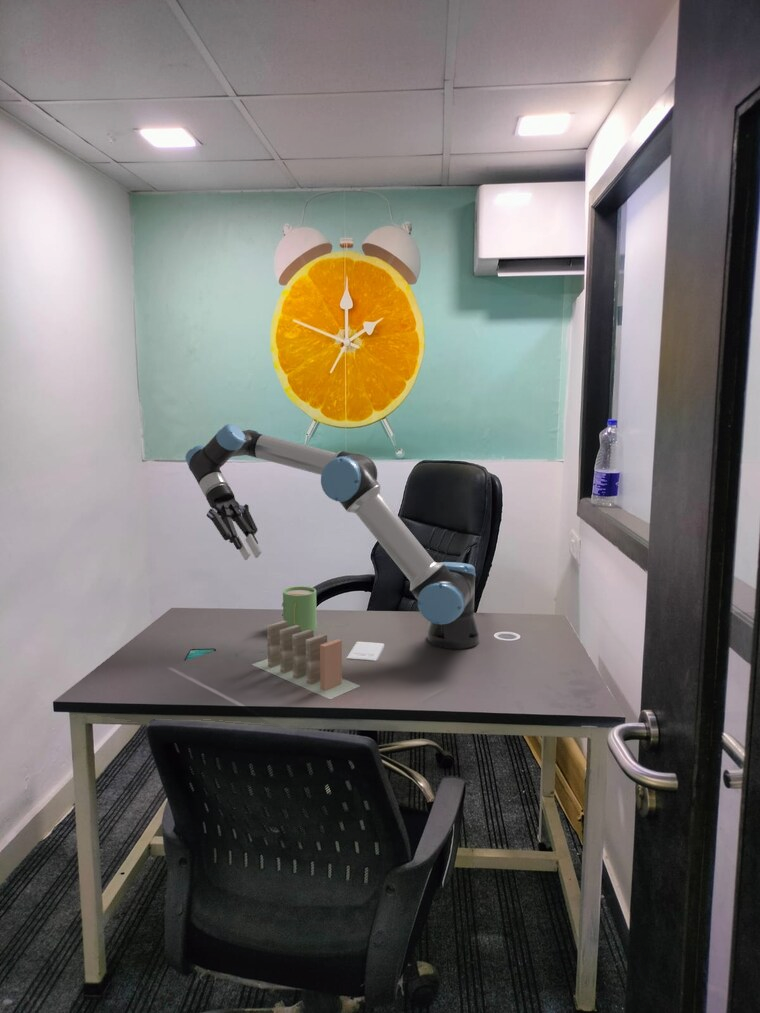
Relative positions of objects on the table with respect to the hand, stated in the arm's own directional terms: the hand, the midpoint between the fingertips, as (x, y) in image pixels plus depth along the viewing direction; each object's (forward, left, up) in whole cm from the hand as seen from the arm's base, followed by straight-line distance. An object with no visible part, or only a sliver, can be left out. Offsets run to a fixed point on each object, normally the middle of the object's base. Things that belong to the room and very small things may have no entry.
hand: (253, 555), depth 180 cm
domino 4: (-19, +26, -26) cm, 41 cm away
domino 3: (-15, +22, -26) cm, 37 cm away
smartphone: (+14, +10, -27) cm, 32 cm away
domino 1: (-8, +15, -26) cm, 31 cm away
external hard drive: (-31, +7, -27) cm, 42 cm away
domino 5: (-22, +29, -26) cm, 45 cm away
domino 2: (-12, +19, -26) cm, 34 cm away
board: (-15, +22, -26) cm, 38 cm away
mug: (-11, -13, -26) cm, 31 cm away
